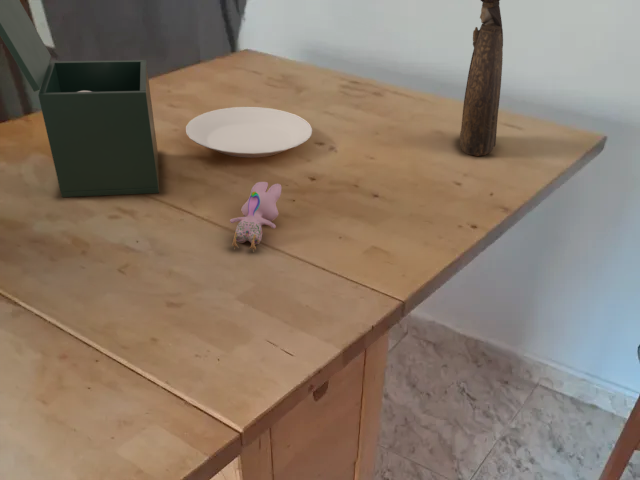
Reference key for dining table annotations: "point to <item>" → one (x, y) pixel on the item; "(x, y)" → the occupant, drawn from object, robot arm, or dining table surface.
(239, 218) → the rabbit figure
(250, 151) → the plate
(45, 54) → the bin lid
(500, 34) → the statue
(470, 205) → the dining table surface
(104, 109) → the waste bin
